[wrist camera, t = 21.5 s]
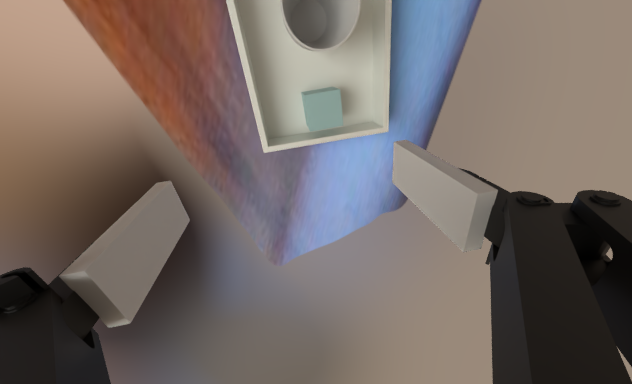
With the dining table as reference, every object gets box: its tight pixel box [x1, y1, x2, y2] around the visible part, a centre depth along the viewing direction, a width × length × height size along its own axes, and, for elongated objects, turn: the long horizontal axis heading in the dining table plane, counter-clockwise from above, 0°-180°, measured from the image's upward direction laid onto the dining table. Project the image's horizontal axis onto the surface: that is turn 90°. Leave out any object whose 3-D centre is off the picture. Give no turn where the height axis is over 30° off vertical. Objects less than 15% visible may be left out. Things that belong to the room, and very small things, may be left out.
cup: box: [280, 0, 361, 51], centre depth 27 cm, size 8×8×10 cm
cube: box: [301, 87, 343, 132], centre depth 35 cm, size 5×5×5 cm
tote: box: [226, 0, 392, 153], centre depth 32 cm, size 22×20×5 cm
